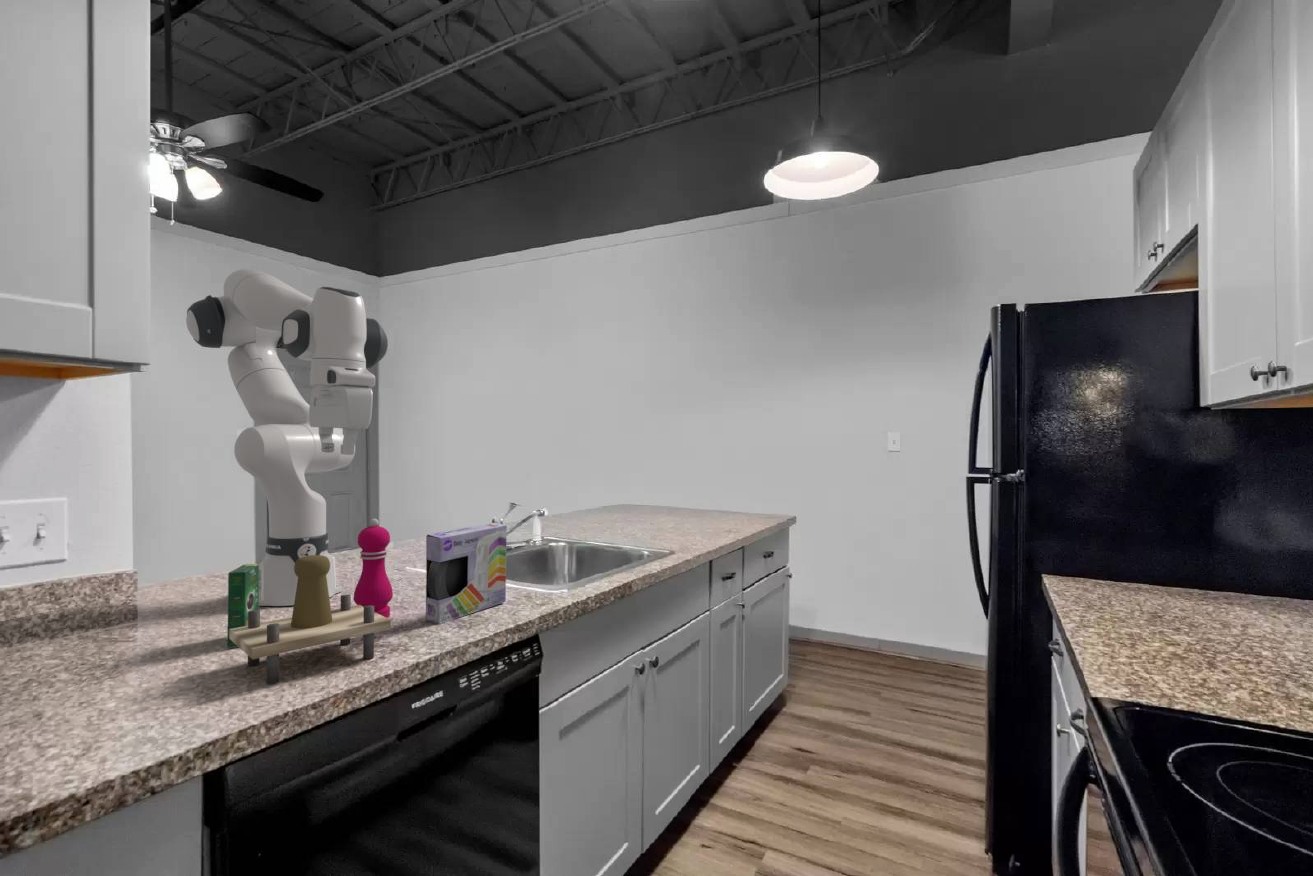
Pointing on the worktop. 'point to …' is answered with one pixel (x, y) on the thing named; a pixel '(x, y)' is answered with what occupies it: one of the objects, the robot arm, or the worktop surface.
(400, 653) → the worktop surface
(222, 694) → the worktop surface
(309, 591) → the cork
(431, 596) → the cake pan box
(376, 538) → the pepper mill
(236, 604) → the coffee box
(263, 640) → the spice riser
